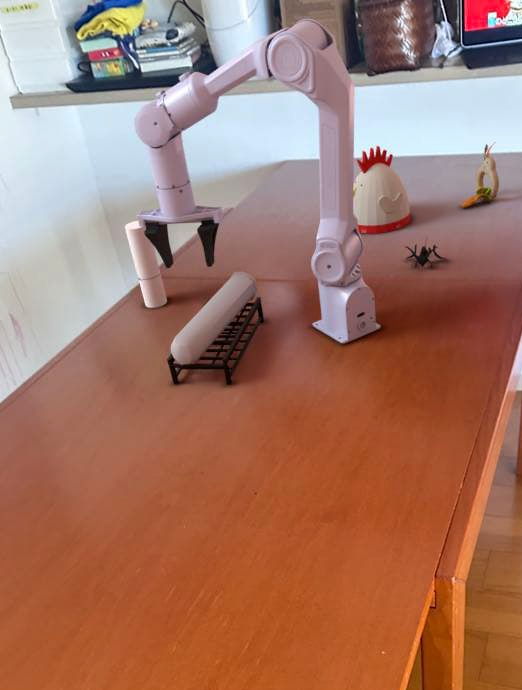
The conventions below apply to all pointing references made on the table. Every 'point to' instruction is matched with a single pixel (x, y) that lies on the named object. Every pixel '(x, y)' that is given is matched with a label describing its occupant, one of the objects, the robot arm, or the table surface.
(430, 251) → the creature
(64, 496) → the table surface
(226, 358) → the shoe rack
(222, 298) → the tube
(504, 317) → the table surface
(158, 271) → the tube
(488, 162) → the rattle
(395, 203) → the kitchen timer
